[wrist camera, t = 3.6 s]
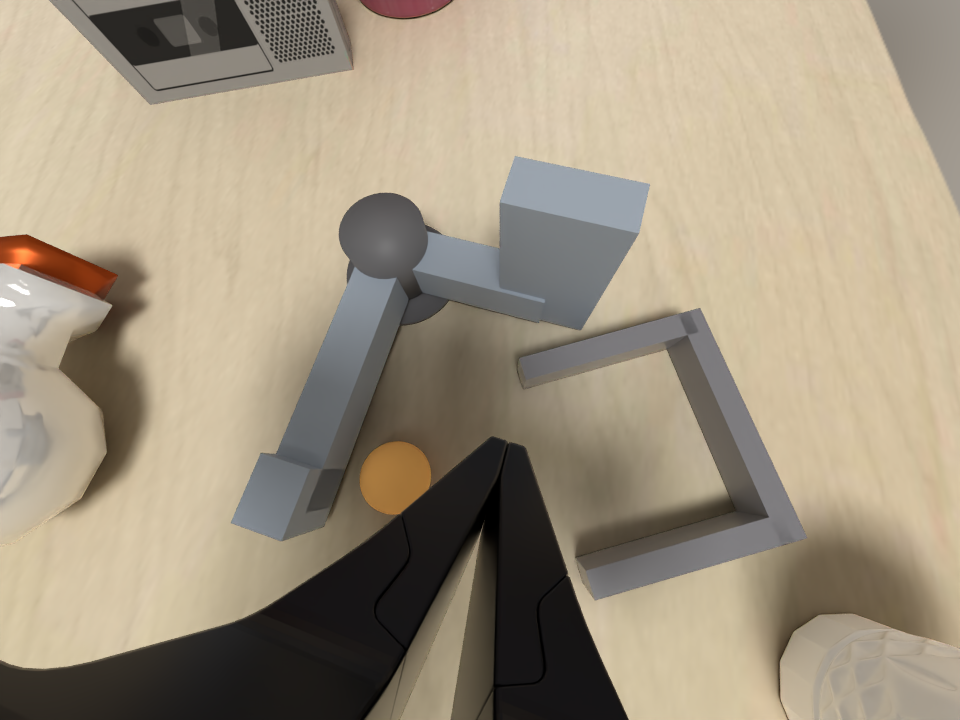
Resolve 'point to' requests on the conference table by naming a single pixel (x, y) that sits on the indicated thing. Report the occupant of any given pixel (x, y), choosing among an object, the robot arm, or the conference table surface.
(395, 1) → the plant pot
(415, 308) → the pivot plate
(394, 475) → the ball
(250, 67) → the cassette player
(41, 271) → the potion bottle
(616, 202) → the lever
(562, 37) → the conference table surface
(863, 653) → the white cup
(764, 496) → the pocket
